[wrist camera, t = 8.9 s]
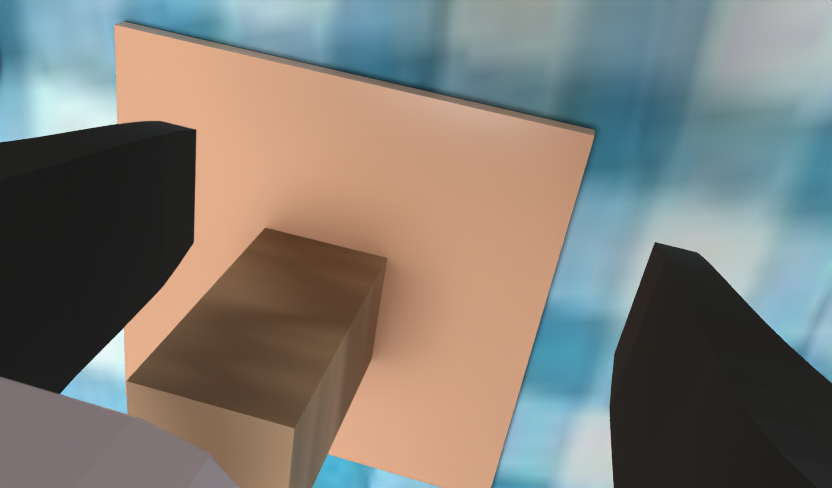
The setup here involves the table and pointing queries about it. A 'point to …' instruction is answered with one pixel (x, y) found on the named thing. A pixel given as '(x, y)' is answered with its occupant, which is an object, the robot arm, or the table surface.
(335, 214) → the terracotta tile
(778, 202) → the table surface
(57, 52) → the table surface
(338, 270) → the link block
